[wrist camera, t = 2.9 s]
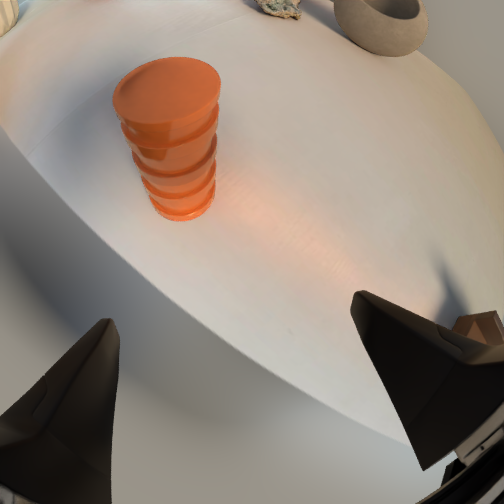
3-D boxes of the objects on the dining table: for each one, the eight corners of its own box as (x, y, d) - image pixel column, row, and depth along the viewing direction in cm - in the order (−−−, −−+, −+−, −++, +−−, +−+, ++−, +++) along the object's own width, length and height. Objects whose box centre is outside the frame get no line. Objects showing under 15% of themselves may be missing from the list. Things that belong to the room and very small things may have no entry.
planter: (315, 28, 38) (342, -45, 20) (330, 23, 40) (356, -41, 22) (397, 78, 37) (443, 9, 19) (404, 69, 39) (446, 8, 21)
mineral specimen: (268, 34, 43) (286, 13, 43) (299, 26, 37) (315, 5, 37) (239, 3, 35) (261, -16, 36) (268, -10, 30) (289, -27, 30)
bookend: (445, 416, 22) (480, 424, 16) (419, 383, 23) (459, 388, 17) (480, 354, 25) (514, 352, 19) (458, 316, 25) (496, 309, 20)
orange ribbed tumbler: (175, 234, 24) (144, 143, 11) (138, 188, 24) (97, 89, 12) (228, 194, 25) (244, 88, 13) (189, 153, 26) (181, 47, 14)
